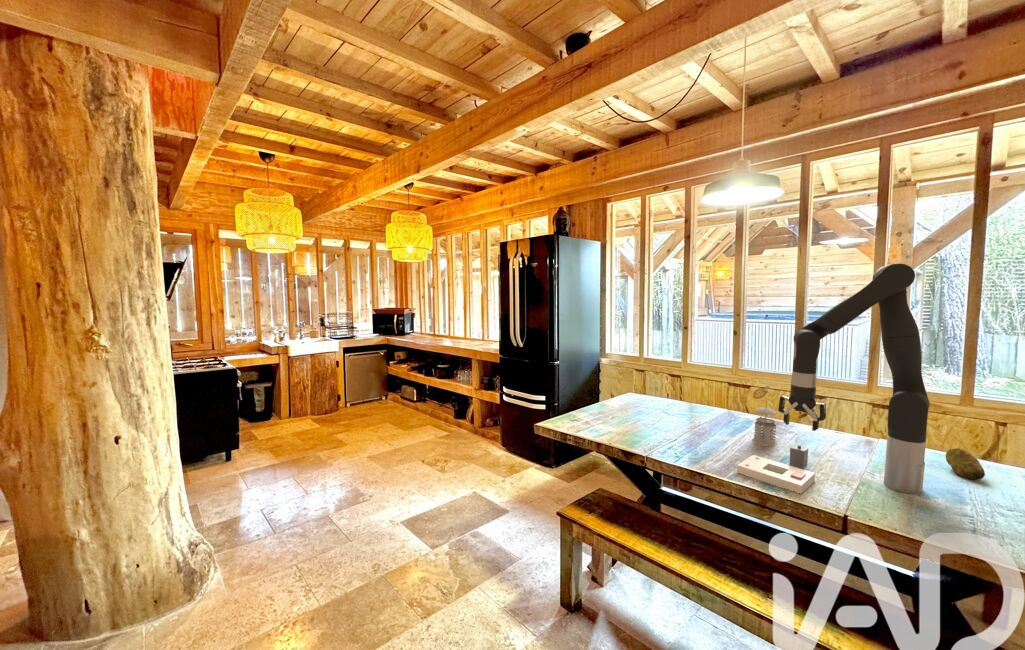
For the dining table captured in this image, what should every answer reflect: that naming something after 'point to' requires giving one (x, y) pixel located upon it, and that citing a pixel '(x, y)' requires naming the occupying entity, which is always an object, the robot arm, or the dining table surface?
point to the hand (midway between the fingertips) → (800, 427)
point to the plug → (798, 456)
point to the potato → (964, 464)
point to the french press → (765, 427)
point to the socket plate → (776, 473)
